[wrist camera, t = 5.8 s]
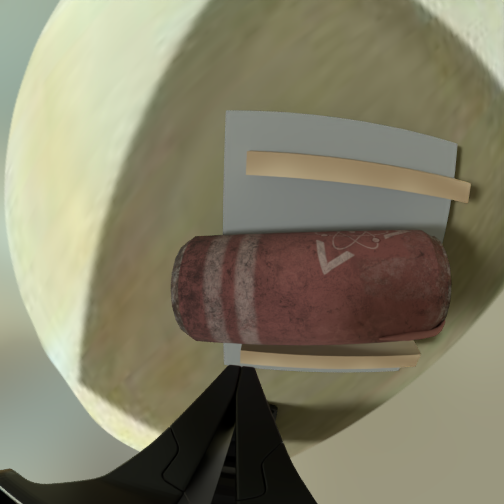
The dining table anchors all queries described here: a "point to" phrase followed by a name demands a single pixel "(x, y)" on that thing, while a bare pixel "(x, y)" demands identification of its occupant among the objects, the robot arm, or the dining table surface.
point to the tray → (332, 205)
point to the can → (312, 287)
